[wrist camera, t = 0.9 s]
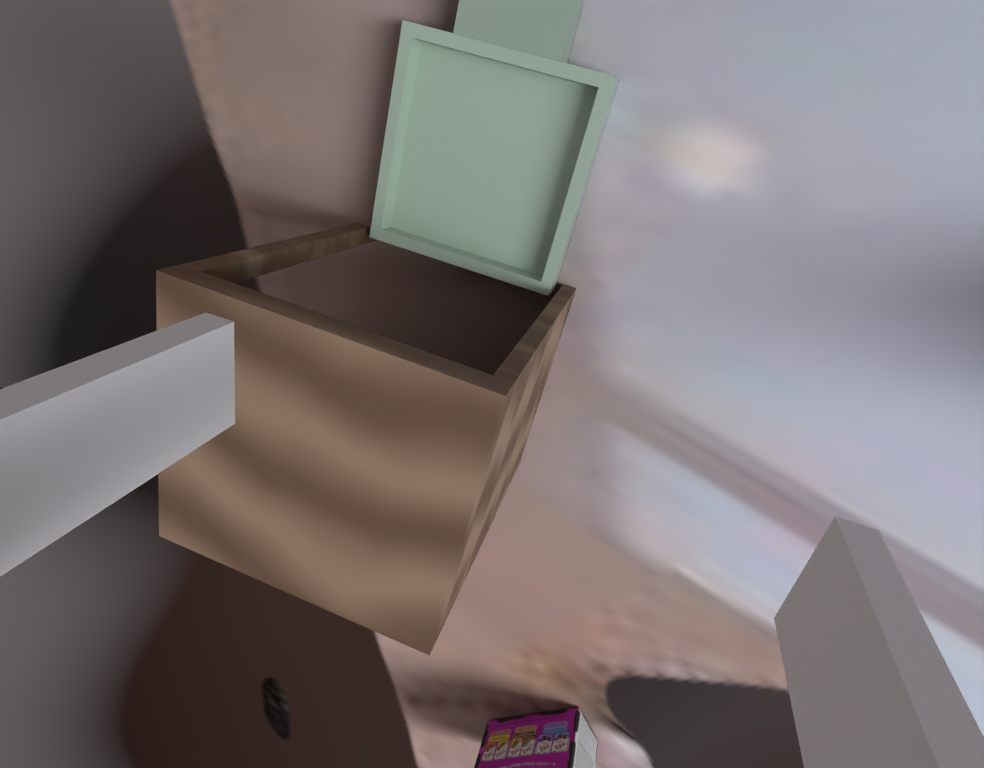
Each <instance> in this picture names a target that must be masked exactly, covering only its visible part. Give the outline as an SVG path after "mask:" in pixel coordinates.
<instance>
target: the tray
mask: <svg viewBox="0 0 984 768" xmlns="http://www.w3.org/2000/svg"><path fill="white" fill-rule="evenodd" d="M582 7H583V2H582V0H459V4H458V9H457V14H456V20H455V25H454V30H453V33H451V32H447V31H443V30H439V29H435V28H432V27H428V26H424V25H420V24H416V23H412V22H409V21H405V20H402V27H401V33H400V40H399V46H398V53H397V59H396V66H395V72H394V79H393V85H392V92H391V98H390V105H389V111H388V118H387V125H386V131H385V138H384V144H383V151H382V157H381V164H380V170H379V177H378V183H377V190H376V196H375V203H374V210H373V216H372V223H371V229H370V236H369V237H370V238H373V239H376V240H379V241H382V242H386V243H389V244H392V245H395V246H398V247H401V248H404V249H407V250H410V251H413V252H416V253H419V254H422V255H425V256H428V257H431V258H434V259H437V260H440V261H443V262H446V263H449V264H452V265H456V266H459V267H462V268H465V269H468V270H471V271H474V272H477V273H480V274H483V275H486V276H489V277H492V278H495V279H498V280H501V281H504V282H507V283H510V284H513V285H516V286H519V287H523V288H526V289H529V290H532V291H535V292H538V293H541V294H544V295H547V296H549V295H550V294H551V293H552V291H553V290H554V289H555V286H556V283H557V280H558V276H559V273H560V270H561V267H562V263H563V260H564V257H565V254H566V250H567V247H568V244H569V241H570V238H571V234H572V231H573V228H574V225H575V221H576V218H577V215H578V212H579V208H580V205H581V202H582V199H583V195H584V192H585V189H586V186H587V182H588V179H589V176H590V173H591V169H592V166H593V163H594V160H595V156H596V153H597V150H598V147H599V144H600V140H601V137H602V134H603V131H604V127H605V124H606V121H607V118H608V114H609V111H610V108H611V105H612V101H613V98H614V95H615V92H616V88H617V85H618V82H619V80H618V78H617V77H616V76H614V75H610V74H607V73H603V72H599V71H595V70H591V69H588V68H584V67H580V66H576V65H572V64H569V63H567V62H568V59H569V55H570V51H571V48H572V44H573V40H574V37H575V33H576V29H577V25H578V22H579V18H580V14H581V11H582Z"/></svg>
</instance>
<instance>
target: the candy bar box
mask: <svg viewBox="0 0 984 768" xmlns="http://www.w3.org/2000/svg"><path fill="white" fill-rule="evenodd" d="M597 743H598V740H597V738H596V736H595V734H594V732H593V731H592V729H591V728H590V726H589V725H588V723H587V721H586V719H585V717H584V716H583V714H582V712H581V711H580V709H579V708H570V709H564V710H557V711H551V712H544V713H538V714H532V715H525V716H519V717H513V718H507V719H500V720H494V721H488V722H487V726H486V730H485V733H484V736H483V740H482V743H481V747H480V750H479V753H478V757H477V760H476V764H475V767H474V768H595V763H596V754H597Z"/></svg>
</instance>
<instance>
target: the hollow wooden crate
mask: <svg viewBox="0 0 984 768" xmlns="http://www.w3.org/2000/svg"><path fill="white" fill-rule="evenodd" d="M371 223H372V222H369V221H365V222H361V223H356V224H352V225H348V226H344V227H339V228H335V229H331V230H326V231H322V232H318V233H313V234H309V235H305V236H301V237H296V238H292V239H288V240H283V241H279V242H275V243H271V244H266V245H262V246H258V247H253V248H249V249H245V250H241V251H236V252H232V253H228V254H224V255H219V256H215V257H210V258H206V259H202V260H198V261H193V262H189V263H185V264H180V265H176V266H172V267H168V268H163V269H159V270H156V308H157V331H158V330H160V329H163V328H166V327H168V326H171V325H174V324H176V323H179V322H182V321H184V320H187V319H190V318H192V317H195V316H198V315H200V314H203V313H209V314H212V315H215V316H218V317H221V318H224V319H227V320H230V321H234V358H235V424H234V425H232V426H231V427H229V428H228V429H226V430H225V431H223V432H221V433H220V434H218V435H217V436H215V437H214V438H212V439H211V440H209V441H208V442H206V443H205V444H203V445H201V446H200V447H198V448H197V449H195V450H194V451H192V452H191V453H189V454H188V455H186V456H185V457H183V458H181V459H180V460H178V461H177V462H175V463H174V464H172V465H171V466H169V467H168V468H166V469H165V470H163V471H161V472H160V473H158V474H159V475H158V476H159V536H161V537H163V538H165V539H168V540H170V541H172V542H174V543H176V544H179V545H181V546H183V547H186V548H188V549H190V550H192V551H195V552H197V553H199V554H201V555H204V556H206V557H208V558H211V559H213V560H215V561H217V562H219V563H222V564H224V565H226V566H229V567H231V568H233V569H235V570H238V571H240V572H242V573H244V574H247V575H249V576H251V577H253V578H256V579H258V580H260V581H263V582H265V583H267V584H270V585H272V586H274V587H276V588H278V589H281V590H283V591H285V592H287V593H290V594H292V595H294V596H296V597H299V598H301V599H303V600H305V601H308V602H310V603H312V604H315V605H317V606H319V607H321V608H324V609H326V610H328V611H330V612H333V613H335V614H337V615H339V616H342V617H344V618H346V619H349V620H351V621H353V622H355V623H357V624H360V625H362V626H364V627H367V628H369V629H371V630H373V631H375V632H378V633H380V634H382V635H385V636H387V637H389V638H391V639H394V640H396V641H398V642H400V643H403V644H405V645H407V646H409V647H412V648H414V649H416V650H418V651H421V652H423V653H425V654H427V655H430V653H431V651H432V649H433V647H434V645H435V642H436V640H437V638H438V636H439V634H440V632H441V630H442V627H443V625H444V623H445V621H446V619H447V617H448V615H449V613H450V610H451V608H452V606H453V604H454V602H455V600H456V598H457V595H458V593H459V591H460V589H461V587H462V585H463V583H464V581H465V578H466V576H467V574H468V572H469V570H470V568H471V566H472V564H473V561H474V559H475V557H476V555H477V553H478V551H479V549H480V546H481V544H482V542H483V540H484V538H485V536H486V534H487V532H488V529H489V527H490V525H491V523H492V521H493V519H494V517H495V515H496V512H497V510H498V508H499V506H500V504H501V502H502V500H503V497H504V495H505V493H506V491H507V489H508V487H509V485H510V483H511V480H512V478H513V476H514V474H515V472H516V470H517V468H518V466H519V462H520V459H521V456H522V453H523V450H524V447H525V444H526V441H527V438H528V435H529V432H530V429H531V426H532V423H533V420H534V416H535V413H536V410H537V407H538V404H539V401H540V398H541V395H542V392H543V389H544V386H545V383H546V380H547V377H548V373H549V370H550V367H551V364H552V361H553V358H554V355H555V352H556V349H557V346H558V343H559V340H560V337H561V334H562V330H563V327H564V324H565V321H566V318H567V315H568V312H569V309H570V306H571V303H572V300H573V297H574V294H575V291H576V288H573V287H570V286H566V285H562V287H561V288H560V289H559V290H558V292H557V293H556V294H555V296H554V297H553V298H552V299H551V301H550V302H549V303H548V305H547V306H546V307H545V309H544V310H543V311H542V312H541V314H540V315H539V316H538V318H537V319H536V320H535V321H534V323H533V324H532V325H531V327H530V328H529V329H528V331H527V332H526V333H525V334H524V336H523V337H522V338H521V340H520V341H519V342H518V343H517V345H516V346H515V347H514V349H513V350H512V351H511V353H510V354H509V355H508V356H507V358H506V359H505V360H504V362H503V363H502V364H501V365H500V367H499V368H498V369H497V371H496V372H495V373H494V375H491V374H488V373H485V372H482V371H480V370H477V369H474V368H471V367H468V366H465V365H463V364H460V363H457V362H454V361H451V360H449V359H446V358H443V357H440V356H437V355H435V354H432V353H429V352H426V351H423V350H420V349H418V348H415V347H412V346H409V345H406V344H404V343H401V342H398V341H395V340H392V339H390V338H387V337H384V336H381V335H378V334H376V333H373V332H370V331H367V330H364V329H361V328H359V327H356V326H353V325H350V324H347V323H345V322H342V321H339V320H336V319H333V318H331V317H328V316H325V315H322V314H319V313H317V312H314V311H311V310H308V309H305V308H302V307H300V306H297V305H294V304H291V303H288V302H286V301H283V300H280V299H277V298H274V297H272V296H269V295H266V294H263V293H260V292H257V291H255V290H252V289H249V288H246V287H243V286H240V285H238V284H235V283H237V282H240V281H244V280H247V279H250V278H254V277H257V276H260V275H263V274H267V273H270V272H273V271H276V270H280V269H283V268H286V267H290V266H293V265H296V264H299V263H303V262H306V261H309V260H312V259H316V258H319V257H322V256H326V255H329V254H332V253H335V252H339V251H342V250H345V249H348V248H352V247H355V246H358V245H362V244H365V243H368V242H371V241H375V240H376V239H373V238H370V237H369V236H370V229H371Z"/></svg>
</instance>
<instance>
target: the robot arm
mask: <svg viewBox="0 0 984 768" xmlns="http://www.w3.org/2000/svg"><path fill="white" fill-rule="evenodd" d="M234 424H235V358H234V321H230V320H227V319H224V318H221V317H218V316H215V315H212V314H209V313H203V314H200V315H198V316H195V317H192V318H190V319H187V320H184V321H182V322H179V323H176V324H174V325H171V326H168V327H166V328H163V329H160V330H158V331H155V332H152V333H150V334H147V335H144V336H142V337H139V338H136V339H134V340H131V341H128V342H126V343H123V344H120V345H117V346H115V347H112V348H110V349H107V350H104V351H102V352H99V353H96V354H93V355H91V356H88V357H85V358H83V359H80V360H77V361H75V362H72V363H69V364H67V365H64V366H61V367H59V368H56V369H53V370H51V371H48V372H45V373H43V374H40V375H37V376H35V377H32V378H30V379H27V380H24V381H21V382H19V383H16V384H14V385H11V386H8V387H4V388H0V576H1V575H3V574H5V573H6V572H8V571H9V570H11V569H12V568H14V567H15V566H17V565H19V564H20V563H22V562H23V561H25V560H26V559H28V558H29V557H31V556H32V555H34V554H35V553H37V552H39V551H40V550H42V549H43V548H45V547H46V546H48V545H49V544H51V543H52V542H54V541H55V540H57V539H58V538H60V537H61V536H63V535H65V534H66V533H68V532H69V531H71V530H72V529H74V528H75V527H77V526H78V525H80V524H82V523H83V522H85V521H86V520H88V519H89V518H91V517H92V516H94V515H95V514H97V513H98V512H100V511H102V510H103V509H104V508H106V507H108V506H109V505H111V504H112V503H114V502H115V501H117V500H118V499H120V498H122V497H123V496H125V495H126V494H128V493H129V492H131V491H132V490H134V489H135V488H137V487H138V486H140V485H141V484H143V483H145V482H146V481H148V480H149V479H151V478H152V477H154V476H155V475H157V474H158V473H160V472H161V471H163V470H165V469H166V468H168V467H169V466H171V465H172V464H174V463H175V462H177V461H178V460H180V459H181V458H183V457H185V456H186V455H188V454H189V453H191V452H192V451H194V450H195V449H197V448H198V447H200V446H201V445H203V444H205V443H206V442H208V441H209V440H211V439H212V438H214V437H215V436H217V435H218V434H220V433H221V432H223V431H225V430H226V429H228V428H229V427H231V426H232V425H234ZM774 619H775V624H776V629H777V634H778V639H779V644H780V649H781V654H782V659H783V664H784V669H785V674H786V679H787V684H788V689H789V694H790V699H791V704H792V709H793V714H794V719H795V724H796V729H797V734H798V739H799V744H800V749H801V754H802V759H803V764H804V768H984V737H983V735H982V733H981V731H980V729H979V727H978V725H977V723H976V721H975V719H974V717H973V715H972V713H971V711H970V709H969V707H968V705H967V703H966V702H965V700H964V698H963V696H962V694H961V692H960V690H959V688H958V686H957V684H956V682H955V680H954V678H953V676H952V674H951V672H950V670H949V668H948V666H947V664H946V662H945V660H944V658H943V656H942V654H941V652H940V650H939V648H938V646H937V644H936V643H935V641H934V639H933V637H932V635H931V633H930V631H929V629H928V627H927V625H926V623H925V621H924V619H923V617H922V615H921V613H920V611H919V609H918V607H917V605H916V603H915V601H914V599H913V597H912V595H911V593H910V591H909V589H908V587H907V585H906V584H905V582H904V580H903V578H902V576H901V574H900V572H899V570H898V568H897V566H896V564H895V562H894V560H893V558H892V556H891V554H890V552H889V550H888V548H887V546H886V544H885V542H884V540H883V538H882V536H881V534H880V532H879V530H876V529H873V528H870V527H867V526H864V525H860V524H857V523H854V522H851V521H848V520H845V519H842V518H839V517H836V516H835V517H834V519H833V521H832V522H831V524H830V526H829V527H828V529H827V531H826V532H825V534H824V536H823V538H822V539H821V541H820V543H819V544H818V546H817V548H816V549H815V551H814V553H813V554H812V556H811V558H810V559H809V561H808V563H807V564H806V566H805V568H804V569H803V571H802V573H801V574H800V576H799V578H798V579H797V581H796V583H795V584H794V586H793V588H792V589H791V591H790V593H789V594H788V596H787V598H786V599H785V601H784V603H783V604H782V606H781V608H780V609H779V611H778V613H777V614H776V616H775V618H774Z"/></svg>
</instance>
